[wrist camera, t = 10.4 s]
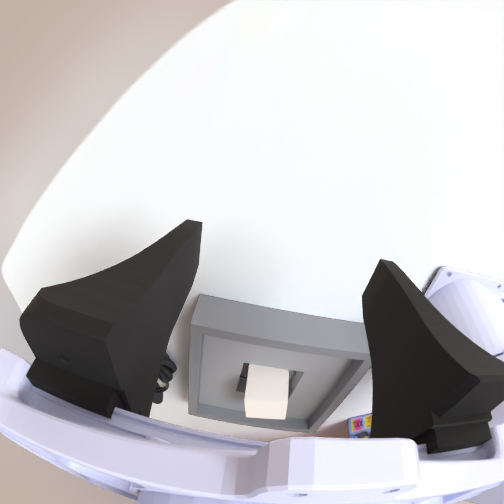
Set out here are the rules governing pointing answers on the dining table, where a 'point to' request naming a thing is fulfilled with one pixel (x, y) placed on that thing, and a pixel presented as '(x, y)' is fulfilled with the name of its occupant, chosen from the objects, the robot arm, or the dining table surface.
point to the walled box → (272, 361)
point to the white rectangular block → (266, 392)
